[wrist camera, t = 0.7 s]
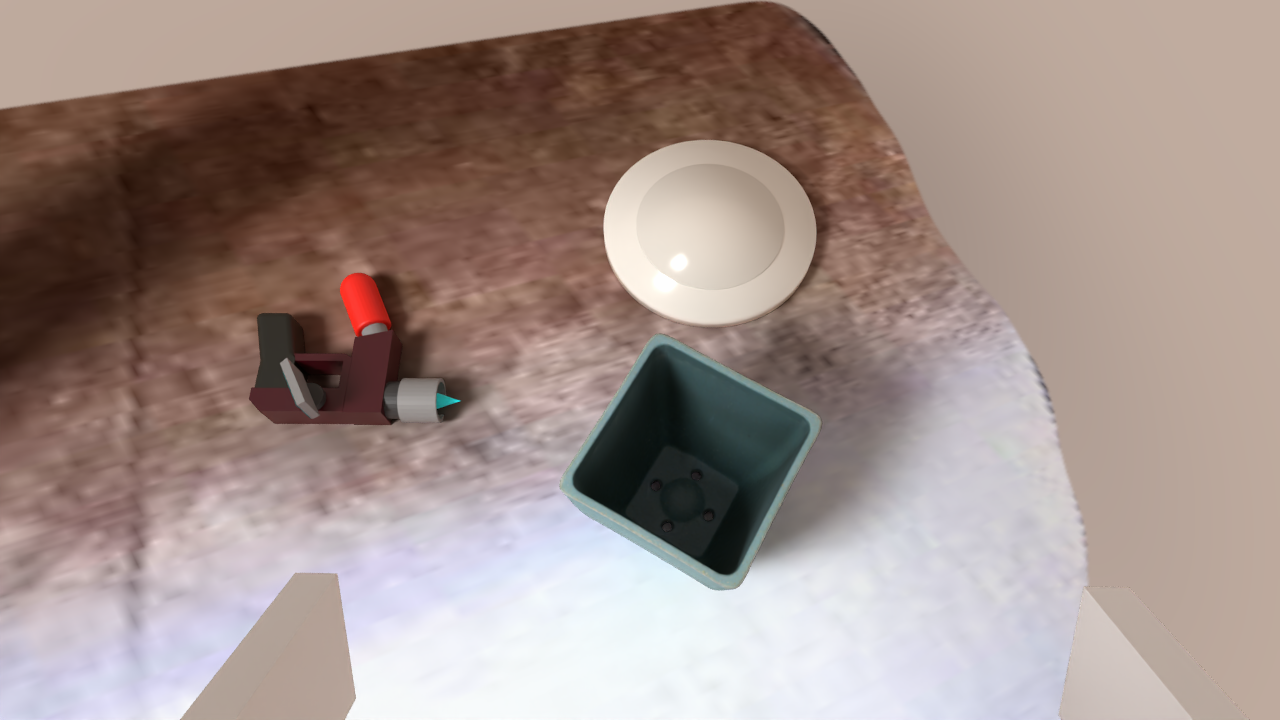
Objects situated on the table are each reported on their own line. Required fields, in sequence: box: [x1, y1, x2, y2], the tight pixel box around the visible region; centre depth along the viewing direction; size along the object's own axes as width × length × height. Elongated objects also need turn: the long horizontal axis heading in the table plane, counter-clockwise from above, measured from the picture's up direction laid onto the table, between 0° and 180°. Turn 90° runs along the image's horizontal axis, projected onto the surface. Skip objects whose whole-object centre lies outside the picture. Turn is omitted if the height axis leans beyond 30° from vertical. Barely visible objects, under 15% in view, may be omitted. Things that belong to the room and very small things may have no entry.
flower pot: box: [559, 334, 822, 590], centre depth 39 cm, size 9×9×9 cm
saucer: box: [604, 140, 817, 328], centre depth 49 cm, size 13×13×1 cm
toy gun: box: [249, 273, 460, 425], centre depth 45 cm, size 10×12×5 cm
